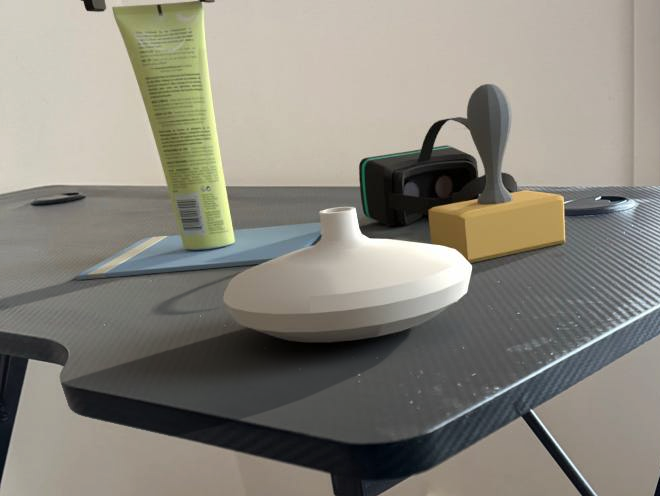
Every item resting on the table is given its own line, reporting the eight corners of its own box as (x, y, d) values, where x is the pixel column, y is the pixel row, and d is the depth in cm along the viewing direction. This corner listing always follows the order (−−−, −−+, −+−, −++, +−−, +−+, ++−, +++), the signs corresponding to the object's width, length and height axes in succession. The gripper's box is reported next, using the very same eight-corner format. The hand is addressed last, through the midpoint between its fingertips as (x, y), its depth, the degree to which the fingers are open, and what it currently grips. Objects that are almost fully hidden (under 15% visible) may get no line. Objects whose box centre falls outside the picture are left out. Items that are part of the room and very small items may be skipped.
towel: (77, 280, 83) (76, 275, 83) (144, 242, 98) (143, 237, 98) (296, 260, 82) (295, 255, 81) (330, 225, 97) (329, 220, 96)
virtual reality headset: (455, 201, 100) (451, 95, 93) (544, 239, 89) (546, 121, 82) (362, 218, 95) (352, 108, 89) (443, 260, 84) (438, 137, 78)
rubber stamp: (465, 265, 74) (448, 90, 67) (431, 256, 78) (413, 91, 71) (567, 243, 77) (562, 76, 71) (529, 235, 82) (521, 77, 75)
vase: (196, 336, 62) (168, 222, 58) (396, 287, 69) (382, 182, 65) (301, 384, 51) (274, 247, 47) (526, 319, 58) (519, 196, 54)
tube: (217, 239, 93) (164, 4, 82) (251, 240, 90) (201, -2, 80) (172, 251, 89) (111, 6, 79) (207, 253, 87) (148, 0, 76)
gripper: (218, -266, 72) (260, 0, 82) (5, -244, 73) (71, 15, 83) (190, -295, 66) (239, -4, 75) (-43, -271, 67) (34, 13, 76)
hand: (151, 6), depth 79 cm, fingers open, 9 cm apart
